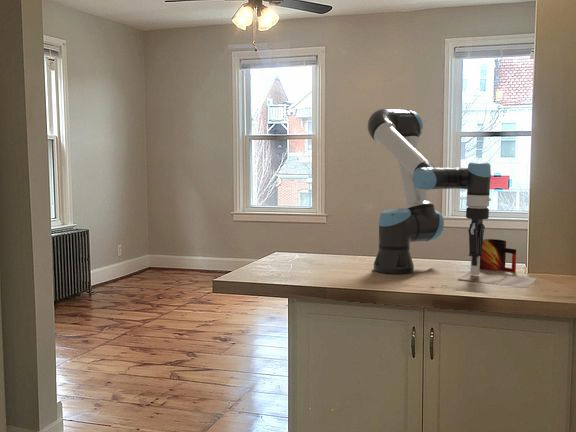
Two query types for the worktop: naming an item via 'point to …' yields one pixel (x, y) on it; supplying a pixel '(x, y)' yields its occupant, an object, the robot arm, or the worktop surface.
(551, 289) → the worktop surface
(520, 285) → the laid plank
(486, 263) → the mug
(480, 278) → the plank
